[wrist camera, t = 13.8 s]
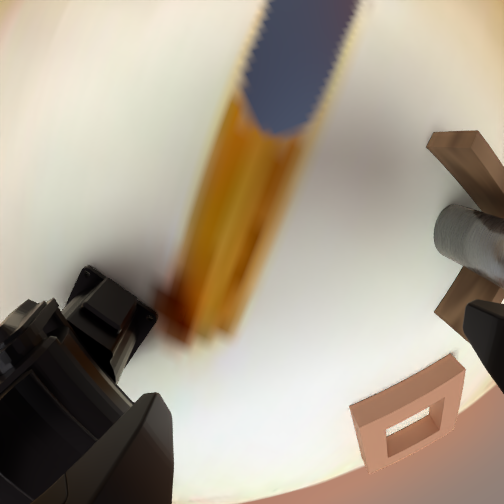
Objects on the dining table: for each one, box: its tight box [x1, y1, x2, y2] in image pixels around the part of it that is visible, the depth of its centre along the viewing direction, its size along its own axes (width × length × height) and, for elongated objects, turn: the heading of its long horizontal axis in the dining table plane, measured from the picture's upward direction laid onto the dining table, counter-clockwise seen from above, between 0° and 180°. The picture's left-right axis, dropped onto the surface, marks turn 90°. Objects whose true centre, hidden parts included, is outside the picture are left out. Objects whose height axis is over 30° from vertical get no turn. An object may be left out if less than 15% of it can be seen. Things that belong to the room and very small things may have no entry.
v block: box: [427, 131, 504, 343], centre depth 18 cm, size 10×16×5 cm, turn 13°
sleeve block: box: [349, 354, 466, 474], centre depth 25 cm, size 12×12×3 cm
